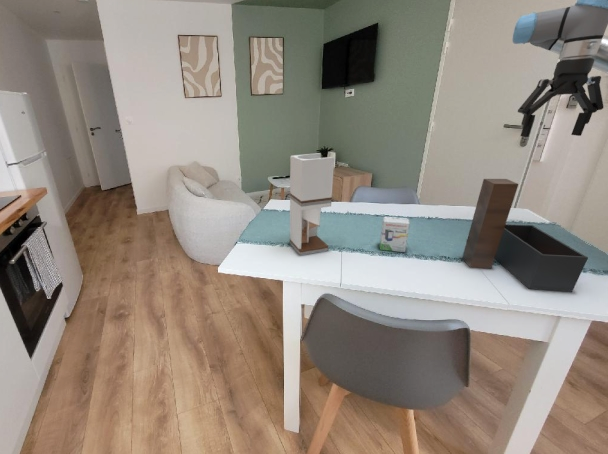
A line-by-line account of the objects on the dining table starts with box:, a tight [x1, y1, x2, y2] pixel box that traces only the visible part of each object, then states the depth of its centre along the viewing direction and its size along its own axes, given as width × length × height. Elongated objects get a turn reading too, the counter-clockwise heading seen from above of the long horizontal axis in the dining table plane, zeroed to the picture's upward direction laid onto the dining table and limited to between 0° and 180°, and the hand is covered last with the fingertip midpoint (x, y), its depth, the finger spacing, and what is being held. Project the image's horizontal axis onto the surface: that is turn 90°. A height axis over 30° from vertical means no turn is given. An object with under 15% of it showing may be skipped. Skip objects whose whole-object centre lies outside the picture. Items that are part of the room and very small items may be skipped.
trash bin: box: [494, 223, 589, 293], centre depth 90 cm, size 22×10×11 cm, turn 167°
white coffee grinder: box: [289, 152, 335, 256], centre depth 107 cm, size 11×11×35 cm
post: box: [461, 178, 519, 269], centre depth 91 cm, size 6×6×28 cm
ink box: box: [379, 216, 411, 253], centre depth 107 cm, size 9×5×12 cm, turn 68°
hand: (549, 136), depth 92 cm, fingers open, 13 cm apart
